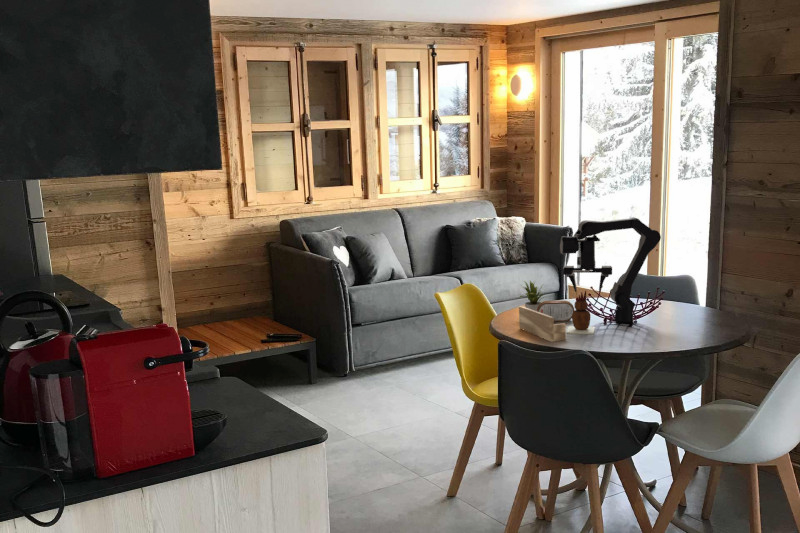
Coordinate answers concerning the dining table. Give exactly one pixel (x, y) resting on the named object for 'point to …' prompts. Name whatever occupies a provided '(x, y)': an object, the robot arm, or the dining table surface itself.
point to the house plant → (532, 296)
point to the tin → (557, 310)
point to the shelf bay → (541, 325)
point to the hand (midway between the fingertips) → (587, 291)
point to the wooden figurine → (581, 313)
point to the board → (574, 331)
